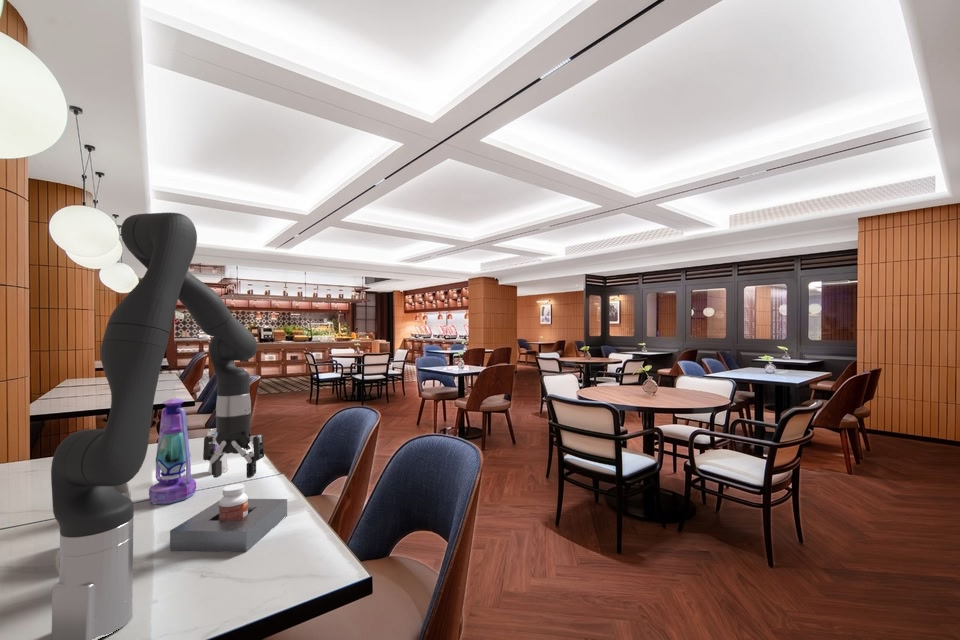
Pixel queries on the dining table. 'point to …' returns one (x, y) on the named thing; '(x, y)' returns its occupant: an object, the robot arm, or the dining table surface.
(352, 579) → the dining table surface
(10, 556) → the dining table surface
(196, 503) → the dining table surface
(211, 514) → the bore housing
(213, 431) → the beer glass
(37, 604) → the dining table surface
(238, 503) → the pill bottle
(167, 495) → the lantern
